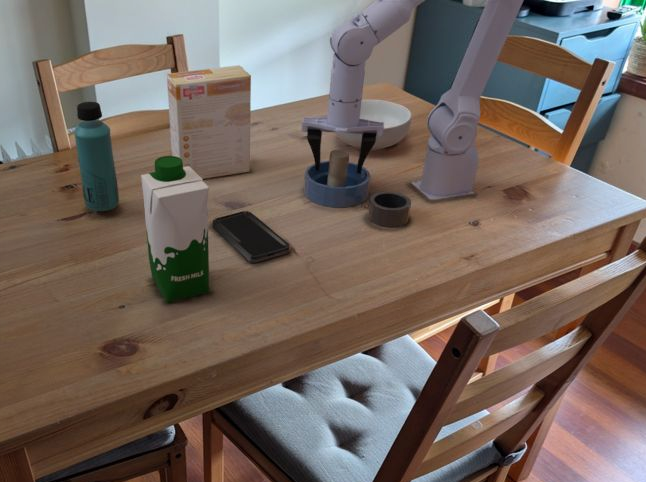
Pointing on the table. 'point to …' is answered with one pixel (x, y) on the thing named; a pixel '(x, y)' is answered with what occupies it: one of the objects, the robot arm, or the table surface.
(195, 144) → the coffeecake box
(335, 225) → the table surface
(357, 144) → the cereal bowl
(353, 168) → the bowl
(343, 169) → the pestle
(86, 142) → the beverage bottle
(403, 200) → the mortar
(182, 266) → the milk carton
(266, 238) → the phone
